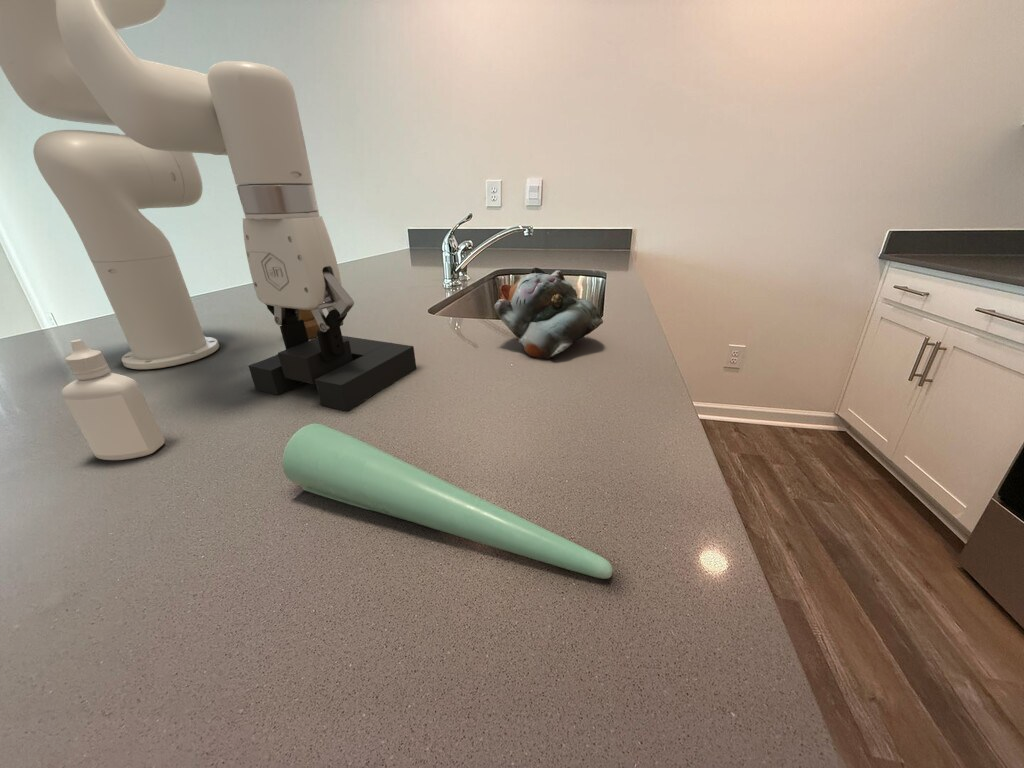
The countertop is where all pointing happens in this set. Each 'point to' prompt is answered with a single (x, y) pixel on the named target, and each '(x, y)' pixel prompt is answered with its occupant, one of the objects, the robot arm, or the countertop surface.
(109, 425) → the eye dropper bottle
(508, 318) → the lucky cat figurine
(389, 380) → the dark grey u-shaped block
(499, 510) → the long green cone
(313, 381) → the dark grey block
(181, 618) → the countertop surface
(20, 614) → the countertop surface
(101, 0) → the robot arm
